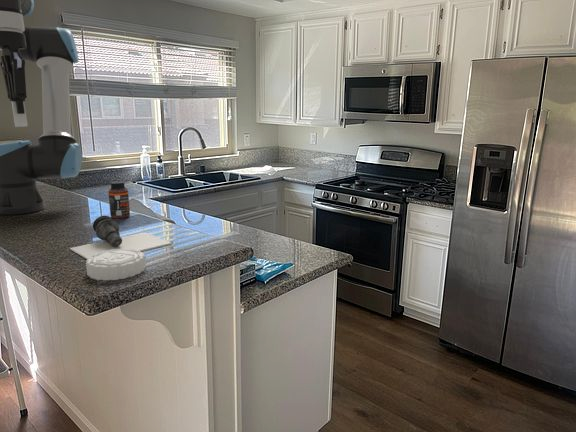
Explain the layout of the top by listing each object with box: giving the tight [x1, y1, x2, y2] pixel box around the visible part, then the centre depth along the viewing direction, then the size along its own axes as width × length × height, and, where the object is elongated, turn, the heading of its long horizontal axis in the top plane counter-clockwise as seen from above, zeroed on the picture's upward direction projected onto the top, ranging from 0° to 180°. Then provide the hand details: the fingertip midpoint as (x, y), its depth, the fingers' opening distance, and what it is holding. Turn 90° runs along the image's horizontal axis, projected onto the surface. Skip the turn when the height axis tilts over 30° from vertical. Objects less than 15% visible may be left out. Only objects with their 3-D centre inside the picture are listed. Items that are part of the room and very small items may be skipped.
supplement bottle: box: [108, 180, 131, 219], centre depth 142 cm, size 6×6×11 cm
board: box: [69, 231, 172, 260], centre depth 112 cm, size 14×20×1 cm
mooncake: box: [85, 249, 147, 281], centre depth 96 cm, size 12×12×4 cm
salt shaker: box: [92, 215, 122, 247], centre depth 113 cm, size 6×6×12 cm
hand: (21, 126), depth 118 cm, fingers closed
